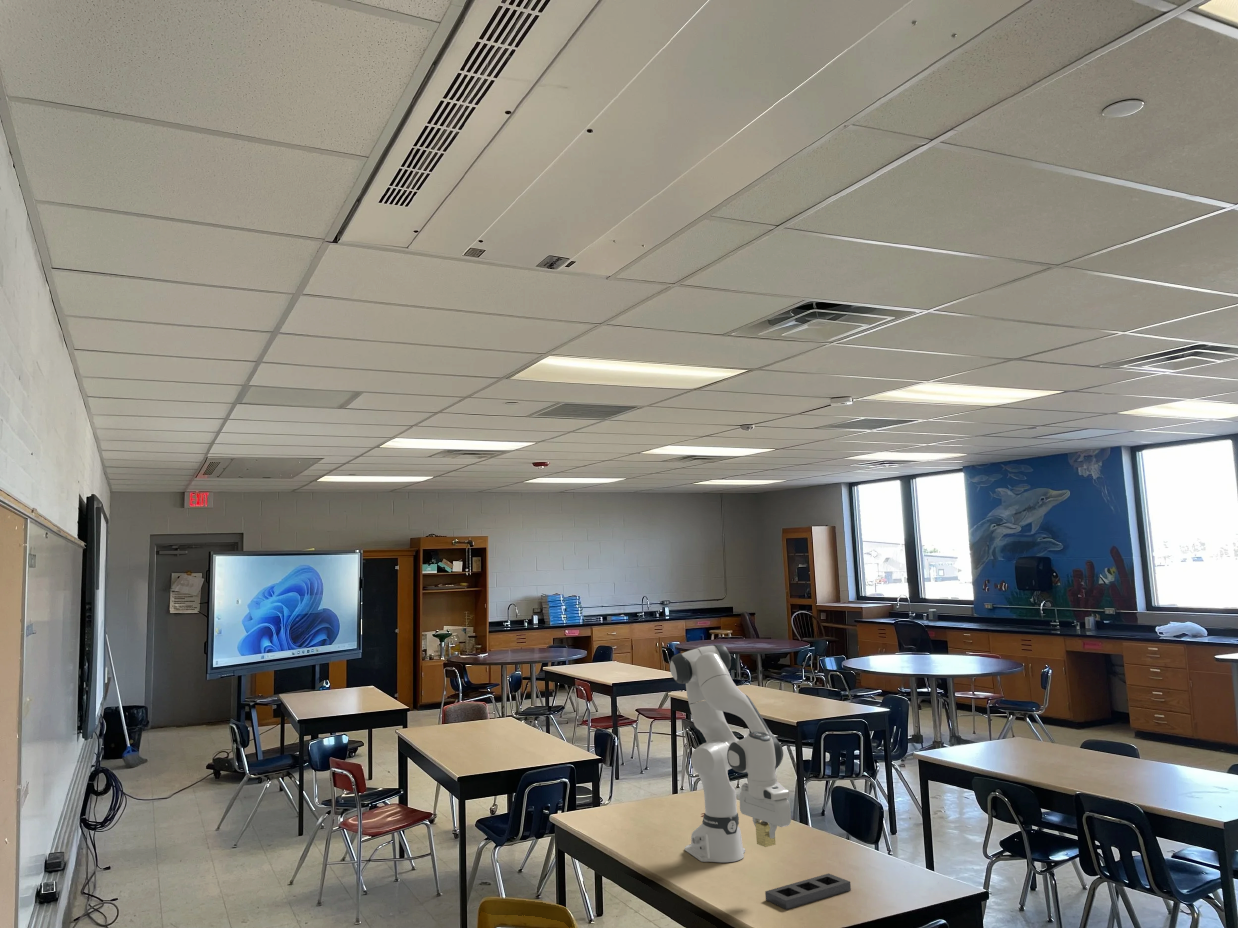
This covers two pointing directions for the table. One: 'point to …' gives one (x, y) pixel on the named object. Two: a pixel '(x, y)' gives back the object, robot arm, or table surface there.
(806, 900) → the grey flat slotted block
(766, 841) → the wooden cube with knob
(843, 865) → the table surface
